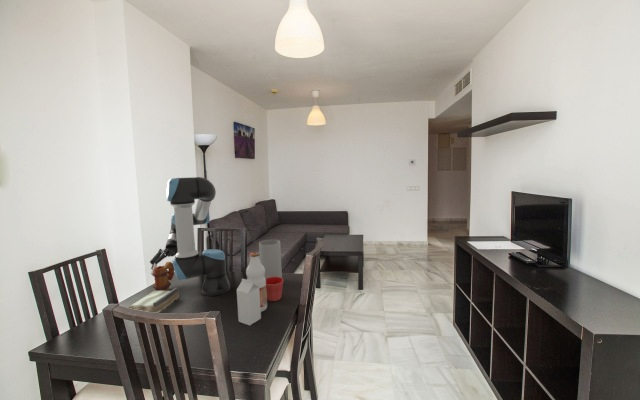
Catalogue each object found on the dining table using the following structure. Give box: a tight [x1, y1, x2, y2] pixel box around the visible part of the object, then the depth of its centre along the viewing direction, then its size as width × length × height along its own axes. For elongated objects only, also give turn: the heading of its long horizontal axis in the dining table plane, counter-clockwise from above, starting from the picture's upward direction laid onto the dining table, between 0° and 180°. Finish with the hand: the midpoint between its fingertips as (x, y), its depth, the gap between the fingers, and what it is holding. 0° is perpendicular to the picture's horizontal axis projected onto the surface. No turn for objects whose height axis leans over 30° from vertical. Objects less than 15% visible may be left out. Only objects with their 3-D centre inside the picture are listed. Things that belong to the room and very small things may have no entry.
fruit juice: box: [245, 251, 268, 313], centre depth 141 cm, size 9×9×28 cm
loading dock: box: [128, 287, 180, 312], centre depth 149 cm, size 14×18×6 cm
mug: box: [151, 261, 175, 291], centre depth 169 cm, size 15×8×15 cm, turn 168°
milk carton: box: [236, 278, 262, 326], centre depth 131 cm, size 7×7×19 cm
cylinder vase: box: [258, 239, 283, 279], centre depth 173 cm, size 12×12×25 cm
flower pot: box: [266, 277, 284, 302], centre depth 154 cm, size 11×11×10 cm
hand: (164, 274), depth 170 cm, fingers open, 13 cm apart
